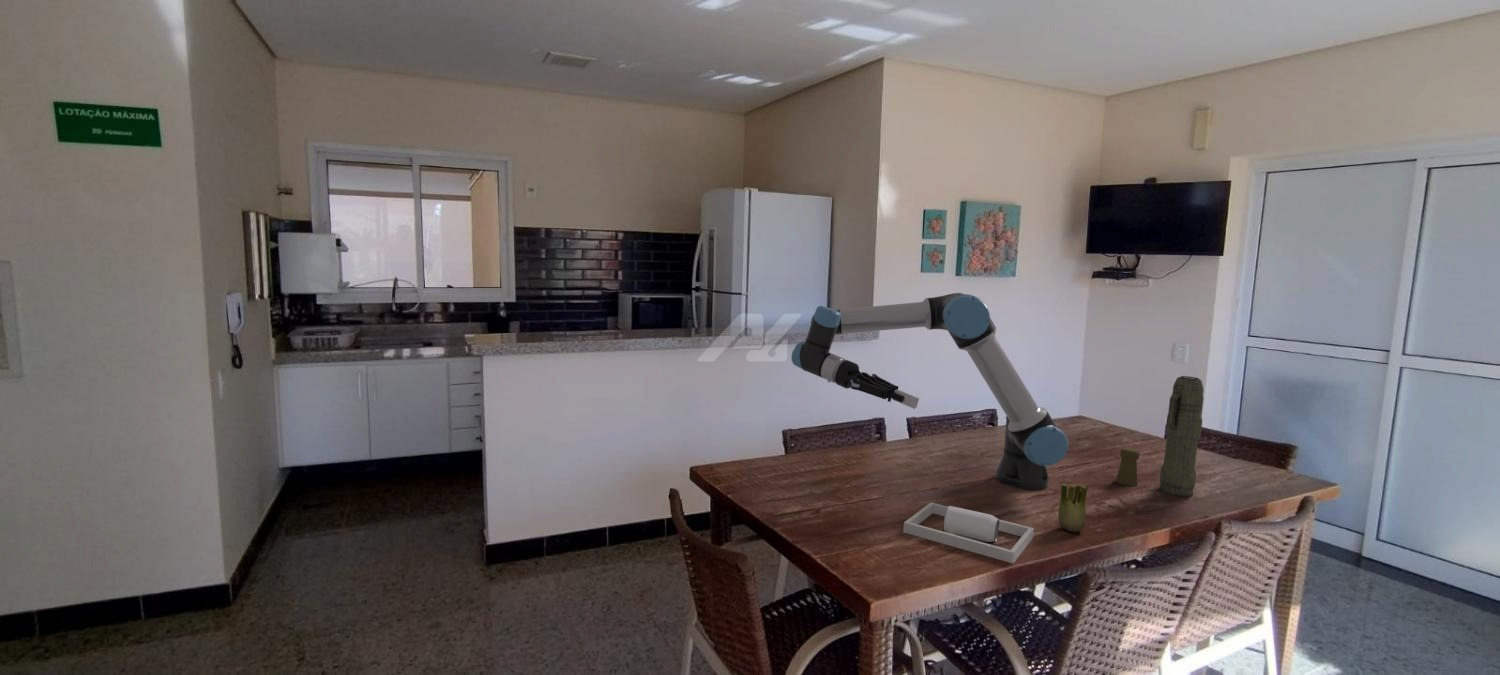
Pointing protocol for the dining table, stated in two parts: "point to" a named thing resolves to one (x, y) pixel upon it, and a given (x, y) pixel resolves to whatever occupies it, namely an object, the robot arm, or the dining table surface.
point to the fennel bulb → (1072, 508)
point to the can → (971, 524)
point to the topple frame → (965, 543)
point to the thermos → (1182, 437)
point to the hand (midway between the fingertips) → (916, 403)
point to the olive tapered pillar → (1128, 467)
